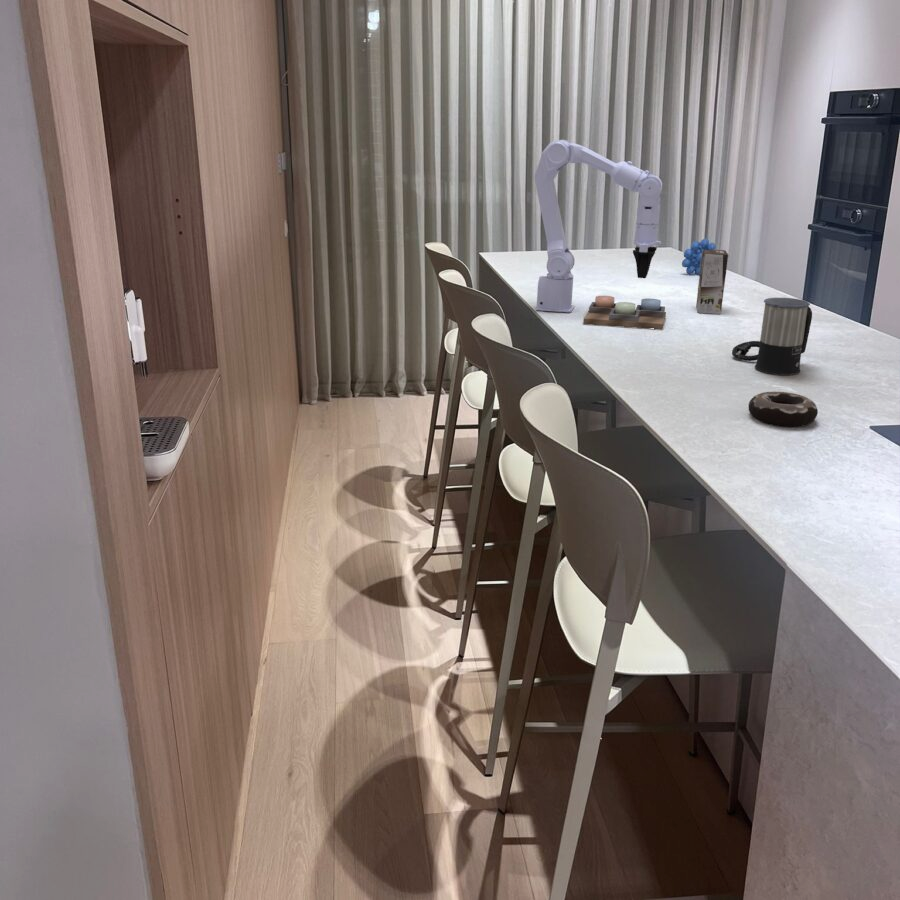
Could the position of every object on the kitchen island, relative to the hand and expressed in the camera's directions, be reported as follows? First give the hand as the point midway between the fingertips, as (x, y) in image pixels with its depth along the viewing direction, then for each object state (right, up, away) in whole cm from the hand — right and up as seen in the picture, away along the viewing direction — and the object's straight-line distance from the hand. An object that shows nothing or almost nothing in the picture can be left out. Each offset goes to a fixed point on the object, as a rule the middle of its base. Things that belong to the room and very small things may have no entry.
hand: (642, 276), depth 237 cm
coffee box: (+20, -8, +10) cm, 24 cm away
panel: (-5, -12, -3) cm, 14 cm away
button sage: (-6, -11, -7) cm, 15 cm away
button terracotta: (-10, -8, 0) cm, 13 cm away
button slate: (+1, -9, -2) cm, 10 cm away
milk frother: (+17, -28, -42) cm, 53 cm away
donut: (+9, -41, -76) cm, 86 cm away
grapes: (+32, +13, +64) cm, 73 cm away
